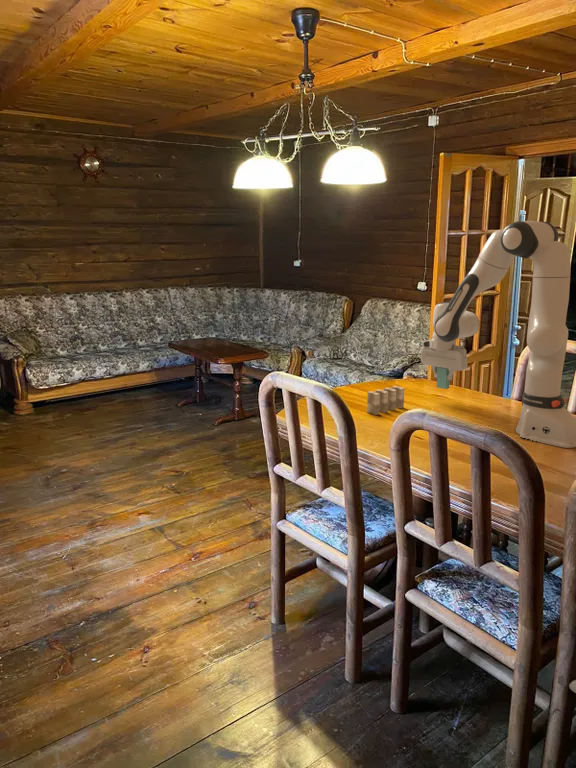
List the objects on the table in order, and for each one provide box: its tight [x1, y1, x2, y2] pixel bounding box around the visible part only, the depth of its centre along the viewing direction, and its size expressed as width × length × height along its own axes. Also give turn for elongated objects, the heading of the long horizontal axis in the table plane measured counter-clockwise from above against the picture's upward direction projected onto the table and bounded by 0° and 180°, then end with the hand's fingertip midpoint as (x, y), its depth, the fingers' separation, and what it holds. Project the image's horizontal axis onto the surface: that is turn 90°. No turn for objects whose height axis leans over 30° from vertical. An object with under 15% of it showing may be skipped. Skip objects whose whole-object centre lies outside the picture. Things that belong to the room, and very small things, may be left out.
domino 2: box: [375, 389, 388, 414], centre depth 227 cm, size 5×2×8 cm, turn 37°
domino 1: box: [366, 391, 380, 416], centre depth 225 cm, size 5×2×8 cm, turn 37°
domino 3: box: [383, 387, 397, 411], centre depth 230 cm, size 5×2×8 cm, turn 37°
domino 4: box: [391, 385, 405, 409], centre depth 232 cm, size 5×2×8 cm, turn 37°
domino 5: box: [436, 367, 451, 390], centre depth 232 cm, size 5×2×8 cm, turn 36°
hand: (443, 378), depth 232 cm, fingers closed on domino 5, 5 cm apart
